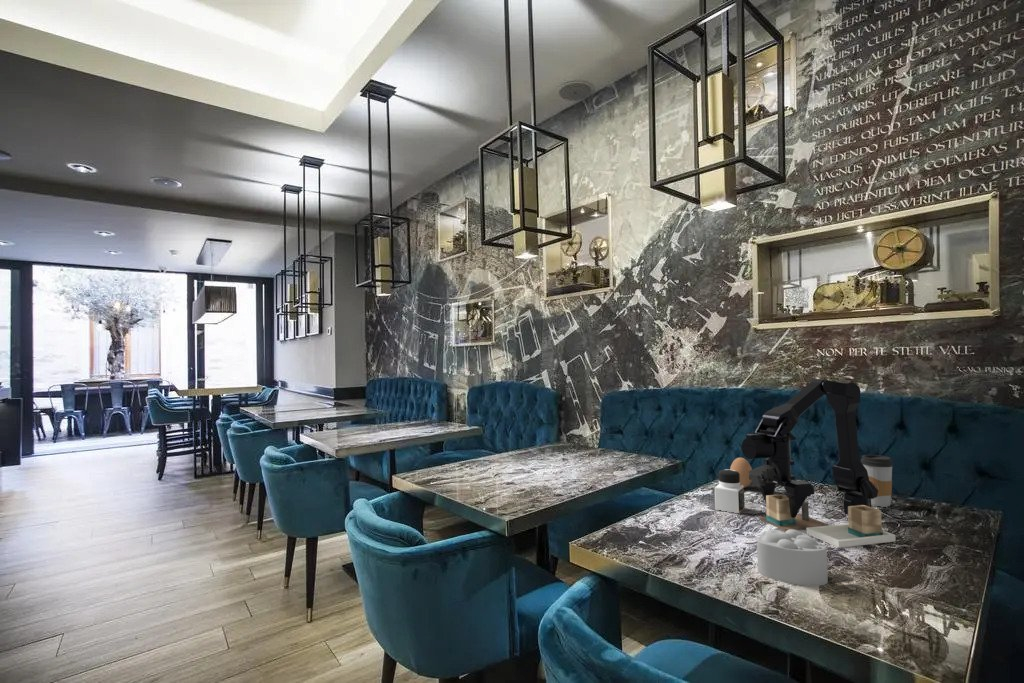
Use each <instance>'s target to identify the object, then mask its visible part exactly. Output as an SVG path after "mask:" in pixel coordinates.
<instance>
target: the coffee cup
mask: <svg viewBox="0 0 1024 683" xmlns="http://www.w3.org/2000/svg"><path fill="white" fill-rule="evenodd" d="M860 461H861V463H862V464H863V466H864V467H865V468H866V470H867V472H868V477H869V480H870V482H871V483H872V484H873V485H874V486H875V487H876V488H877V489H878V495H877V497H876V498H874V499H871V505H874V506H873V507H875V506H881V507H880V508H883V507H886V508H888V507H887V506H889V507H890V506H891V504H892V491H893V480H892V479H893V467H894V466H893V461H892V460H891V457H889V456H886V455H878V454H877V455H876V454H864V455H862V456H861V459H860Z"/></svg>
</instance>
